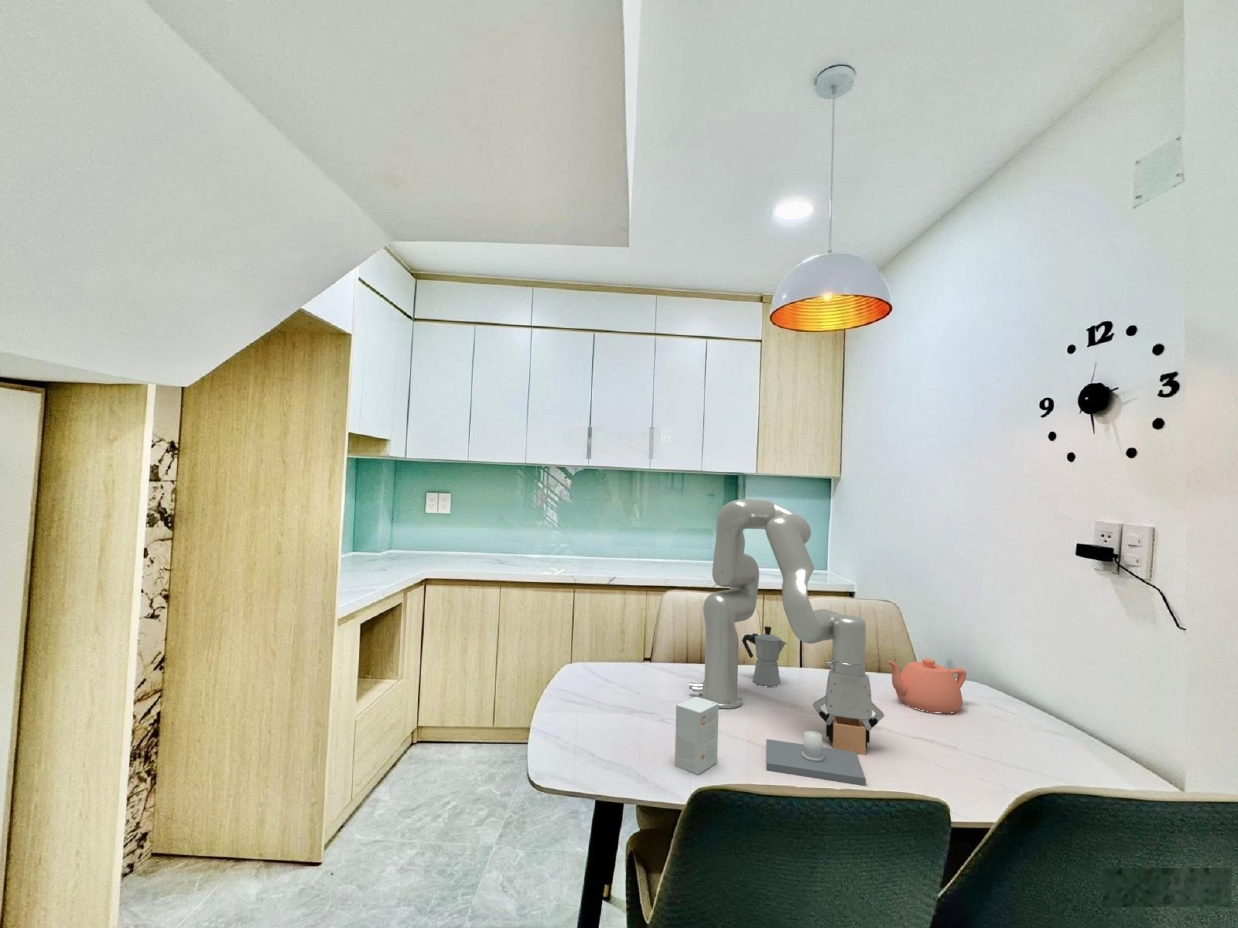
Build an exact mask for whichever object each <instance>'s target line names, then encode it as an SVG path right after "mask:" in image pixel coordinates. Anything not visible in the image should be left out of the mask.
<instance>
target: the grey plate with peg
mask: <svg viewBox="0 0 1238 928" xmlns="http://www.w3.org/2000/svg"><path fill="white" fill-rule="evenodd" d="M765 741H766V742H765V743H766V747H765V749H766V750H765V753H766V754H765V755H766V763H765V765H766V769H765V770H766V771H768V772H769V771H771V772H775V773H776V772H777V773H782V774H783V773H784V774H788V775H789V774H790V775H795V776H803V777H807V778H813V779H821V780H827V781H831V782H832V781H834V782H839V783H840V782H841V783H846V784H853V785H857V784H860V785H859V786H864V785H865V786H866V784H867V783H866V778H867V777H866V775H865V772H864V770H863V767H862V764H861V763H860V759H859V757H858V754H857V753H856V752H853V751H846V750H839V749H833V747H832V748H831V747H824V746H822V745H823V735H822V734H821V733H820V732H818V731H813V730H805V731H804V732H803V743H796V742H790V741H783V740H776V739H767V738H766V740H765ZM865 786H864V787H865Z"/></svg>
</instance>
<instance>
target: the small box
mask: <svg viewBox="0 0 1238 928" xmlns="http://www.w3.org/2000/svg"><path fill="white" fill-rule="evenodd" d="M675 707H676V709H675V710H676V711H675V712H676V713H675V740H674V741H675V742H674V743H675V744H674V745H675V747H674V749H675V750H674V766H675V767H678V768H679V769H684V770H686V771H688V772H689V773H693V774H696V775H700V774H702V773H704V772H705V771H707V770H708V769H709V768H711V767H713V766H714V765H715V764H717V763H718V751H719V750H718V749H719V748H718V747H719V746H718V743H719V742H718V741H719V740H718V739H719V738H718V737H719V711H720V710H719V709H720V708H719V704H718V703H716V702H713V701H710V700H707V699H703V698H699V696H693V697H692V698H690V699H686V700H685V701H683V702H680V703H678V704H676V705H675Z"/></svg>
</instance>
